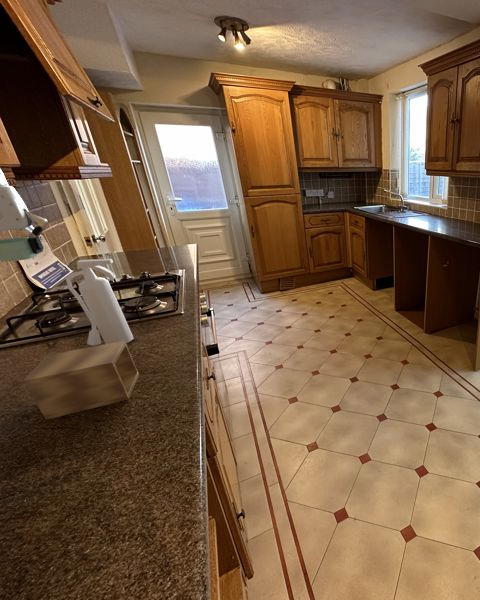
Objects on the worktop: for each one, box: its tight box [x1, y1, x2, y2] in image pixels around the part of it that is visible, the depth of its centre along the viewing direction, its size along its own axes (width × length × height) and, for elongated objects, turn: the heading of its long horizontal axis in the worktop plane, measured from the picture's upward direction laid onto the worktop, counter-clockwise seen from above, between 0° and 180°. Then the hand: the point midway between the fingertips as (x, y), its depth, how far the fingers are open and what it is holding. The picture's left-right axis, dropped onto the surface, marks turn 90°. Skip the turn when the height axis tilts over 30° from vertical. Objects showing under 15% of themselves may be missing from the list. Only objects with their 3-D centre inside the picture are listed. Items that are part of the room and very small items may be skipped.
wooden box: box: [22, 341, 140, 420], centre depth 72 cm, size 14×10×10 cm
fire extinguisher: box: [65, 258, 134, 347], centre depth 90 cm, size 7×12×25 cm, turn 118°
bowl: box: [0, 236, 39, 263], centre depth 82 cm, size 7×7×5 cm
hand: (17, 254), depth 82 cm, fingers closed on bowl, 7 cm apart
